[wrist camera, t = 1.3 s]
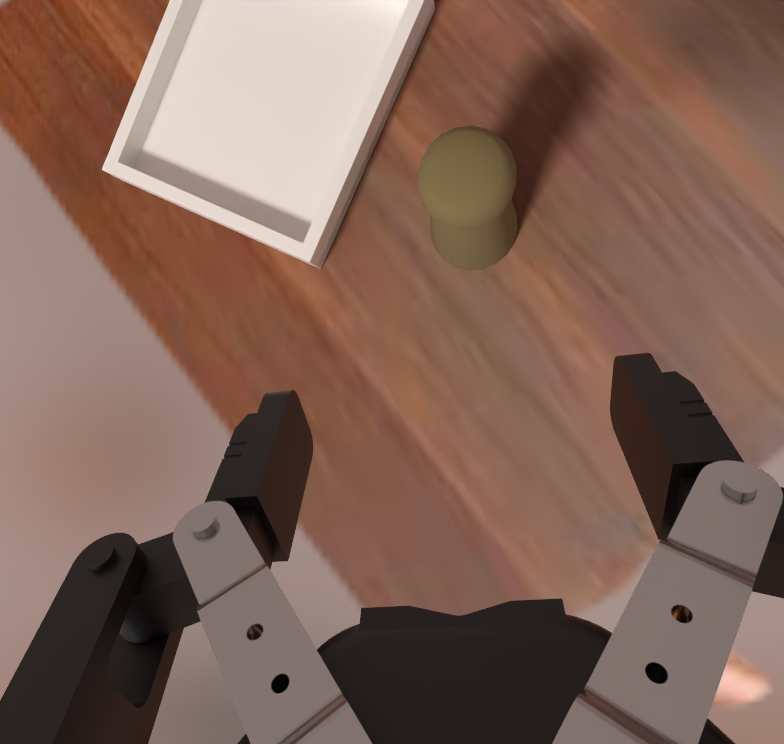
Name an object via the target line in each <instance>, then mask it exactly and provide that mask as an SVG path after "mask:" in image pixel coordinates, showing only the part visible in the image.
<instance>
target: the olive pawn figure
mask: <svg viewBox="0 0 784 744" xmlns="http://www.w3.org/2000/svg"><path fill="white" fill-rule="evenodd" d="M417 177H418V192H419V194H420V197H421V200H422V202H423V205H424V207H425V208H426V210H427V211H428V212H429V213H430V214H431V237H432V240H433V243H434V245H435V248H436V250H437V252H438V253H439V254H440V255H441V256H442V258H443V259H444V260H445V261H447V262H449V263H450V264H452V265H453V266H455V267H458V268H462V269H466V270H476V269H484V268H486V267H489V266H491V265H494V264H496V263H497V262H498V261H500V260H501V259H502V258H503V257H504V256H506V255H507V253H508V252H509V250H510V249H511V247H512V246H513V244H514V242H515V239H516V235H517V231H518V219H517V213H516V211H515V208H514V205H513V202H512V197H513V194H514V190H515V186H516V182H517V172H516V163H515V160H514V158H513V155H512V153H511V150H510V148H509V147H508V146H507V145H506V144H505V142H504V141H503V140H502V139H501V138H500V137H499V136H498V135H496V134H495V133H493V132H491V131H489V130H488V129H486V128H480V127H475V126H466V127H458V128H454V129H452V130H450V131H448V132H446V133H443V134H442V135H440V136H439V137H438V138H437V139H436V140H435V141H434V142H433V143H431V144H430V146H429V147H428V149H427V151H426V152H425V154H424V155H423V157H422V160H421V164H420V168H419V172H418V175H417Z"/></svg>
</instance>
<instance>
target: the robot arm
mask: <svg viewBox="0 0 784 744" xmlns="http://www.w3.org/2000/svg"><path fill="white" fill-rule="evenodd" d="M610 414H611V421H612V425H613V429H614V431H615V434H616V436H617V439H618V441H619V444H620V446H621V449H622V451H623V453H624V456H625V458H626V461H627V463H628V466H629V468H630V471H631V473H632V475H633V478H634V480H635V483H636V485H637V488H638V490H639V493H640V495H641V498H642V500H643V502H644V505H645V507H646V510H647V512H648V515H649V517H650V520H651V522H652V525H653V527H654V529H655V532H656V534H657V537H658V539H659V540H660V542H659V543H658V545H657V547H656V549H655V551H654V553H653V555H652V557H651V559H650V561H649V562H648V564H647V566H646V568H645V570H644V572H643V574H642V576H641V578H640V580H639V582H638V584H637V586H636V588H635V590H634V592H633V594H632V596H631V598H630V600H629V602H628V604H627V606H626V608H625V610H624V612H623V614H622V616H621V618H620V620H619V622H618V624H617V626H616V627H615V630H614V631H613V633H611V632H609V631H608V630H606V629H604V628H602V627H601V626H598V625H596V624H594V623H592V622H590V621H587V620H584V619H581V618H578V617H575V616H570V615H566V614H565V610H564V606H563V601H562V599H543V600H522V601H509V602H506V603H503V604H499V605H496V606H493V607H489V608H486V609H483V610H480V611H476V612H473V613H470V614H467V615H462V616H455V615H450V614H445V613H440V612H436V611H431V610H426V609H421V608H417V607H412V606H395V607H374V608H361V617H360V624H358V625H355V626H352V627H350V628H348V629H346V630H344V631H342V632H340V633H338V634H336V635H335V636H333V637H332V638H330V639H329V640H328V641H326V642H325V643H324V644H322V645H321V646H320V647H319V648H318V649H317V650H316V648H315V646H314V644H313V643H312V641H311V639H310V638H309V636H308V634H307V632H306V631H305V629H304V627H303V626H302V624H301V623H300V620H299V619H298V617H297V615H296V614H295V612H294V610H293V608H292V607H291V605H290V603H289V602H288V600H287V598H286V596H285V595H284V593H283V591H282V590H281V588H280V586H279V585H278V583H277V581H276V579H275V577H274V576H273V574H272V572H271V571H270V569H271V565H272V562H276V561H288V559H289V555H290V551H291V546H292V542H293V538H294V533H295V529H296V525H297V520H298V516H299V512H300V507H301V503H302V499H303V494H304V490H305V486H306V482H307V477H308V473H309V469H310V464H311V460H312V455H313V440H312V435H311V431H310V428H309V425H308V423H307V420H306V417H305V414H304V411H303V409H302V406H301V403H300V400H299V397H298V395H297V393H296V392H295V391H294V390H290V391H281V392H272V393H266V394H265V395H264V397H263V399H262V402H261V404H260V407H259V410H258V412H257V413H254V414H248V415H247V416H246V417H245V418H244V419H243V420H242V421H241V423H240V424H239V425H238V426H237V427H236V428H235V430H234V433H233V435H232V437H231V440H230V442H229V446H228V447H227V450H226V452H225V454H224V459H222V462H221V464H220V467H219V469H218V471H217V474H216V476H215V479H214V481H213V483H212V486H211V488H210V491H209V493H208V496H207V498H206V500H205V503H203V504H201V505H199V506H197V507H195V508H193V509H192V510H190V511H189V512H188V513H186V514H185V515H184V517H182V518H181V520H180V521H179V522H178V524H177V525H176V527H175V530H174V532H172V533H170V534H167V535H165V536H162V537H159V538H156V539H153V540H150V541H147V542H145V543H141V544H137V543H136V541H135V540H134V539H133V538H132V536H130V535H129V534H126V533H114V534H110V535H107V536H104V537H102V538H100V539H98V540H96V541H94V542H93V543H92V544H90V545H89V546H88V547H87V548H85V549H84V550H83V551H82V552H81V553H80V555H79V556H78V557H77V558H76V560H75V561H74V563H73V565H72V567H71V569H70V570H69V572H68V574H67V576H66V578H65V580H64V582H63V584H62V585H61V587H60V589H59V591H58V593H57V595H56V597H55V599H54V601H53V603H52V604H51V606H50V608H49V610H48V612H47V614H46V616H45V618H44V620H43V621H42V623H41V625H40V627H39V629H38V631H37V633H36V635H35V637H34V638H33V640H32V642H31V644H30V646H29V648H28V650H27V651H26V653H25V655H24V657H23V659H22V661H21V663H20V665H19V667H18V668H17V670H16V672H15V674H14V676H13V678H12V680H11V682H10V683H9V686H8V687H7V689H6V691H5V693H4V695H3V697H2V699H1V700H0V744H148V742H149V739H150V736H151V732H152V729H153V726H154V723H155V719H156V716H157V713H158V710H159V706H160V703H161V700H162V697H163V694H164V690H165V687H166V684H167V680H168V677H169V674H170V671H171V667H172V664H173V661H174V658H175V655H176V651H177V648H178V645H179V642H180V638H181V635H182V632H183V629H184V627H187V626H189V625H192V624H195V623H198V622H200V621H201V623H202V625H203V627H204V630H205V632H206V635H207V637H208V640H209V642H210V644H211V647H212V650H213V652H214V655H215V657H216V660H217V662H218V664H219V667H220V669H221V672H222V674H223V677H224V679H225V682H226V684H227V687H228V689H229V691H230V694H231V696H232V699H233V701H234V704H235V706H236V709H237V711H238V714H239V716H240V719H241V721H242V724H243V726H244V729H245V731H246V734H245V735H244V737H243V738H242V739H241V740H240V741H239V743H238V744H735V743H734V742H733V741H732V740H731V739H730V738H728V737H727V736H726V735H725V734H724V733H723V732H722V731H721V730H720V729H719V728H718V727H717V726H715V725H714V724H713V723H712V722H711V721H710V720H709V719H708V718H707V717H708V714H709V711H710V708H711V706H712V703H713V700H714V697H715V694H716V691H717V688H718V686H719V683H720V680H721V677H722V674H723V671H724V668H725V666H726V663H727V660H728V657H729V654H730V651H731V649H732V646H733V643H734V640H735V637H736V634H737V631H738V629H739V626H740V623H741V620H742V617H743V614H744V611H745V608H746V606H747V603H748V600H749V597H750V594H751V592H752V591H754V592H758V593H762V594H767V595H771V596H776V597H780V598H784V488H782V487H780V486H779V485H778V483H777V482H776V481H775V480H774V478H773V477H771V476H770V475H769V474H768V473H766V472H765V471H763V470H761V469H759V468H757V467H755V466H753V465H750V464H747V463H745V462H744V461H743V459H742V458H741V456H740V455H739V453H738V452H737V450H736V449H735V447H734V446H733V444H732V442H731V441H730V439H729V438H728V436H727V435H726V433H725V432H724V430H723V428H722V427H721V425H720V424H719V422H718V421H717V419H716V418H715V416H713V415H712V411H711V410H710V408H709V407H708V405H707V404H706V403H704V399H703V397H702V396H701V394H700V393H699V391H698V390H697V388H696V387H695V385H694V384H693V383H692V382H690V381H689V380H687V379H686V378H685V377H683V376H682V375H680V374H679V373H677V372H676V371H674V372H664V373H662V372H661V370H660V368H659V367H658V365H657V363H656V361H655V360H654V358H653V356H652V355H651V354H650V353H642V354H633V355H624V356H616V357H615V360H614V365H613V377H612V389H611V401H610Z"/></svg>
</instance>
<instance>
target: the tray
mask: <svg viewBox="0 0 784 744" xmlns="http://www.w3.org/2000/svg"><path fill="white" fill-rule="evenodd" d="M434 11H435V4H434V0H170V2H169V4H168V7H167V9H166V12H165V14H164V17H163V19H162V22H161V24H160V27H159V29H158V32H157V34H156V37H155V39H154V41H153V44H152V46H151V49H150V51H149V54H148V56H147V59H146V61H145V64H144V66H143V69H142V71H141V74H140V76H139V79H138V81H137V84H136V86H135V89H134V91H133V94H132V96H131V99H130V101H129V104H128V106H127V109H126V111H125V114H124V116H123V119H122V121H121V123H120V126H119V128H118V131H117V133H116V136H115V138H114V141H113V143H112V146H111V148H110V151H109V153H108V156H107V158H106V161H105V163H104V166H103V168H102V170H103V171H105V172H107V173H109V174H111V175H113V176H115V177H117V178H119V179H121V180H122V181H124V182H127V183H129V184H131V185H133V186H136V187H138V188H140V189H142V190H145V191H147V192H149V193H151V194H153V195H156V196H158V197H160V198H162V199H165V200H167V201H169V202H171V203H174V204H176V205H178V206H180V207H183V208H185V209H187V210H189V211H192V212H194V213H196V214H198V215H201V216H203V217H205V218H207V219H209V220H212V221H214V222H216V223H218V224H221V225H223V226H225V227H227V228H230V229H232V230H234V231H236V232H239V233H241V234H243V235H245V236H248V237H250V238H252V239H254V240H257V241H259V242H261V243H263V244H265V245H268V246H270V247H272V248H274V249H277V250H279V251H281V252H283V253H286V254H288V255H290V256H292V257H295V258H297V259H299V260H301V261H304V262H306V263H308V264H310V265H313V266H315V267H317V268H319V269H321V268H322V266H323V264H324V262H325V259H326V257H327V255H328V252H329V250H330V248H331V246H332V243H333V241H334V239H335V237H336V234H337V232H338V230H339V227H340V225H341V223H342V221H343V218H344V216H345V214H346V212H347V209H348V207H349V205H350V202H351V200H352V198H353V196H354V193H355V191H356V189H357V187H358V184H359V182H360V180H361V177H362V175H363V173H364V171H365V168H366V166H367V164H368V162H369V159H370V157H371V155H372V152H373V150H374V148H375V146H376V143H377V141H378V139H379V137H380V134H381V132H382V130H383V127H384V125H385V123H386V121H387V118H388V116H389V114H390V111H391V109H392V107H393V105H394V102H395V100H396V98H397V96H398V93H399V91H400V89H401V86H402V84H403V82H404V80H405V77H406V75H407V73H408V71H409V68H410V66H411V64H412V61H413V59H414V57H415V55H416V52H417V50H418V48H419V46H420V43H421V41H422V39H423V36H424V34H425V32H426V30H427V27H428V25H429V23H430V21H431V18H432V16H433V14H434Z"/></svg>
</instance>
